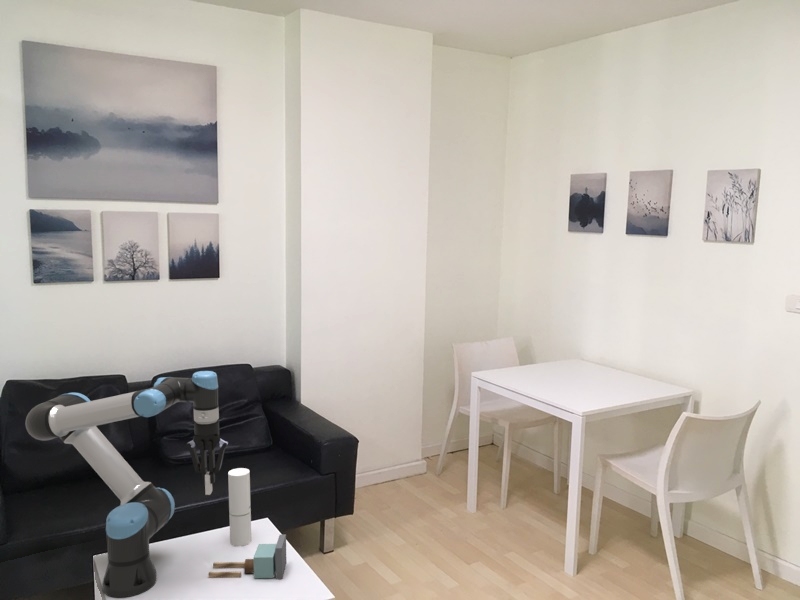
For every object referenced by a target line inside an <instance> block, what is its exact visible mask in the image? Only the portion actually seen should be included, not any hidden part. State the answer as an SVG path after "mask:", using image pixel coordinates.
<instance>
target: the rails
mask: <svg viewBox="0 0 800 600" xmlns="http://www.w3.org/2000/svg"><path fill="white" fill-rule="evenodd" d="M244 564H245V561H233V562H232V561H231V562H229V561H227V562H223V561H222V562H218V561H217V562H213V563H212V565H213V566H212V567H213V569H244ZM207 575H208V579H211V578H212V579H214V578H216V579H217V578H220V579H221V578H222V579H223V578H224V579H225V578H242V571H239V570H238V571H208V574H207Z"/></svg>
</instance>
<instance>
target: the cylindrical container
mask: <svg viewBox="0 0 800 600" xmlns="http://www.w3.org/2000/svg"><path fill="white" fill-rule="evenodd" d="M227 475H228V478H227V480H228V481H227V482H228V483H227V484H228V511H229V513H228V514H229V543H230V545H231V546H233V547H244V546H247V545H249V544H250V543H252V514H251V511H252V509H251V507H252V506H251V477H250V476H251V475H250V469H249V468H246V467H245V468H244V467H237V468H232V469H231V470H229V471H228V473H227Z"/></svg>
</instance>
